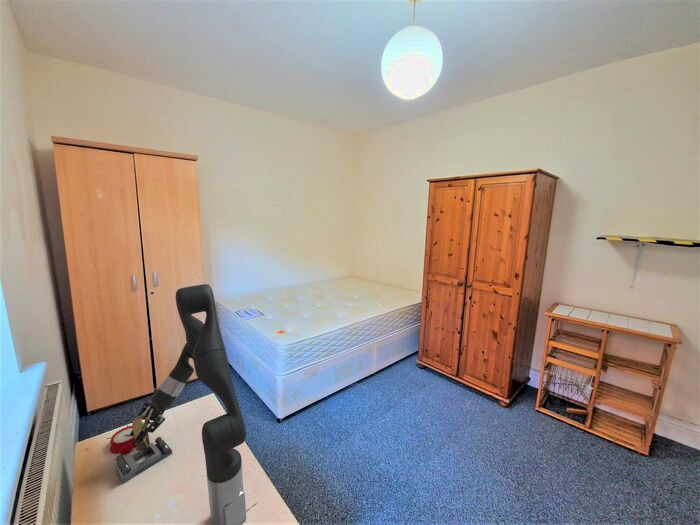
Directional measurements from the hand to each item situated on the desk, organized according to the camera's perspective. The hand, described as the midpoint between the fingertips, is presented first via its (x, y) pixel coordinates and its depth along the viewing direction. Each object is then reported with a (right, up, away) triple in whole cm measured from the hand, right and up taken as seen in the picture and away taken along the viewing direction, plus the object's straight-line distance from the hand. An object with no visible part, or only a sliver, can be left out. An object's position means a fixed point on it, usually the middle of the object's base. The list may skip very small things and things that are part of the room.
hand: (134, 438), depth 99 cm
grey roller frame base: (+1, -11, +3) cm, 11 cm away
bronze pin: (+1, -4, +2) cm, 5 cm away
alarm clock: (-11, -10, +11) cm, 18 cm away
